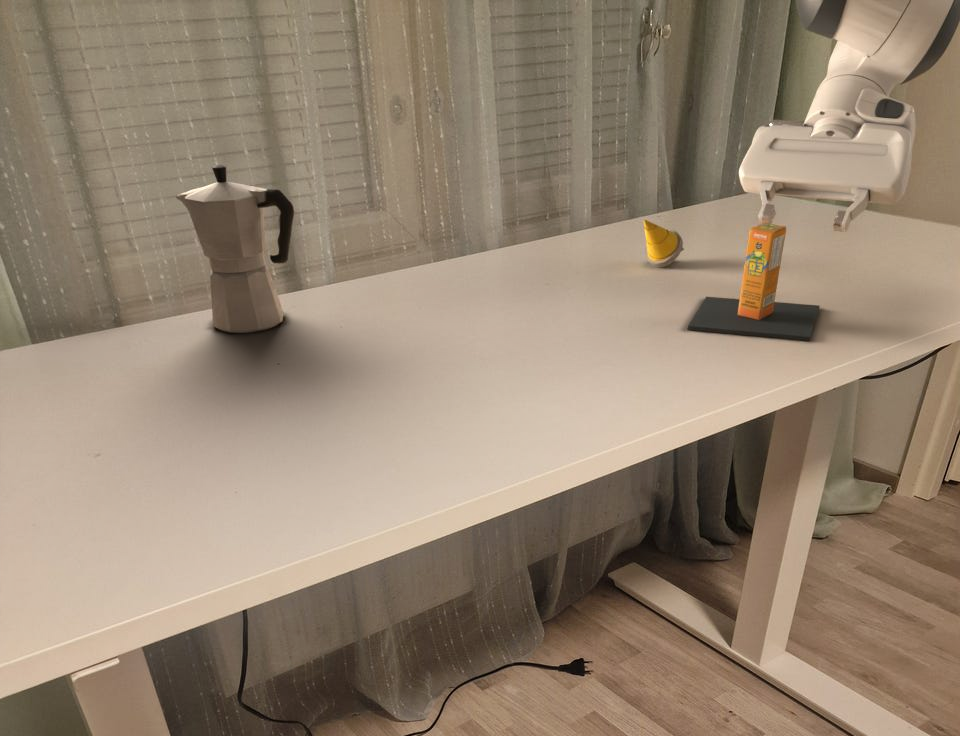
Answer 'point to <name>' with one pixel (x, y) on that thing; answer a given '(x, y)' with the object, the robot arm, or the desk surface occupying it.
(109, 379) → the desk surface
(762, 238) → the supplement box
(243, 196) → the coffeepot
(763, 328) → the mat
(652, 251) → the yellow cone on disc
